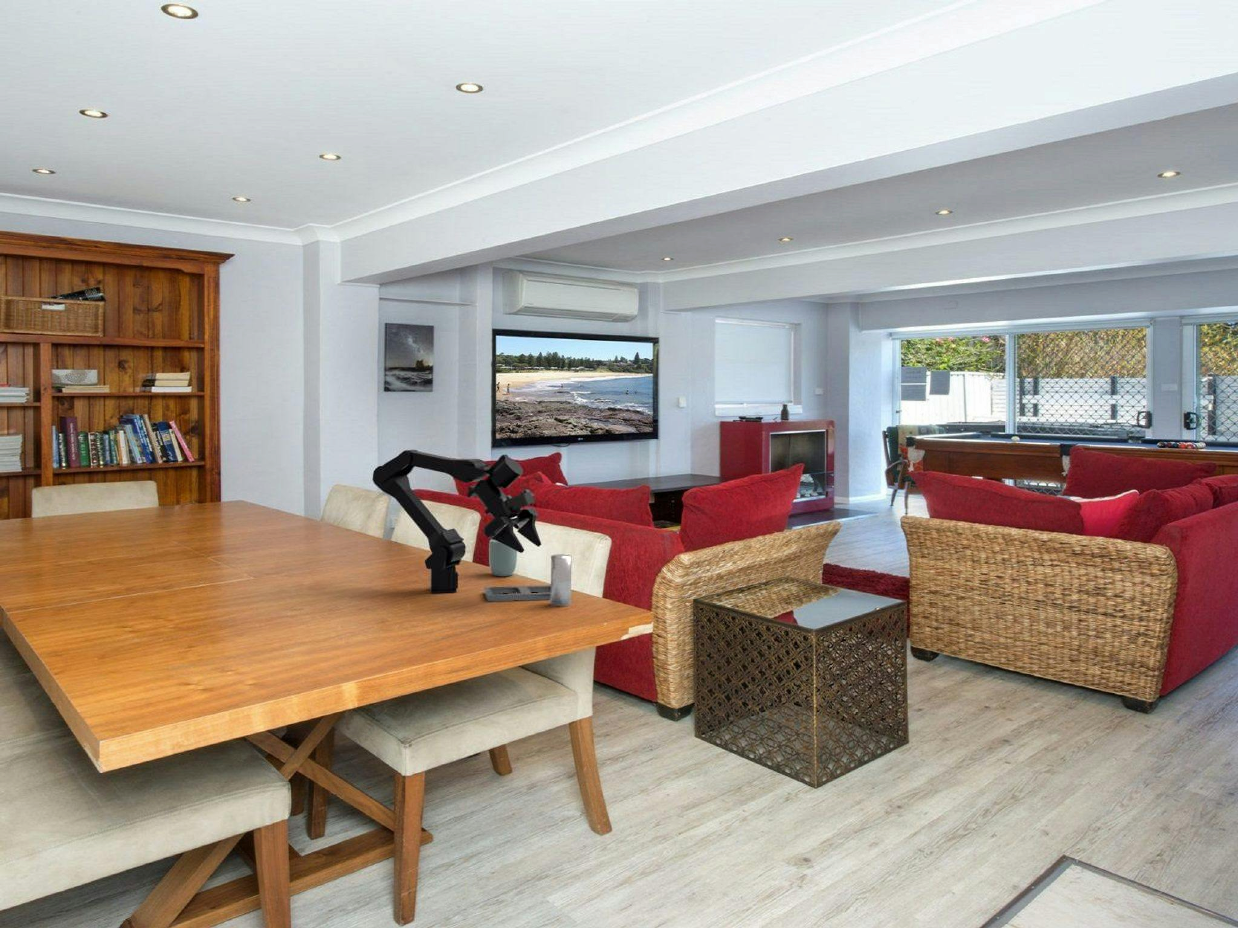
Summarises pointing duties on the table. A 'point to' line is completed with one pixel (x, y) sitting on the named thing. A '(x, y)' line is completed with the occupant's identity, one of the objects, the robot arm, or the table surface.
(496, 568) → the cup
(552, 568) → the peg
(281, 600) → the table surface
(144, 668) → the table surface
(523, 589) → the grey divided tray
